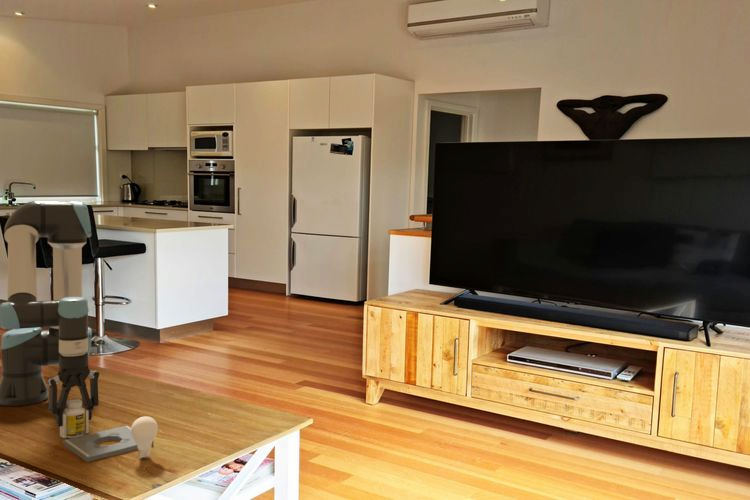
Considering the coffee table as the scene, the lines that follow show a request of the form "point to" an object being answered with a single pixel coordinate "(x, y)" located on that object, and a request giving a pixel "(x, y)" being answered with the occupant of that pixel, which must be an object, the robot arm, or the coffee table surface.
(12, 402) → the robot arm
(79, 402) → the supplement bottle
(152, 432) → the light bulb
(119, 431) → the socket board
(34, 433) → the coffee table surface
